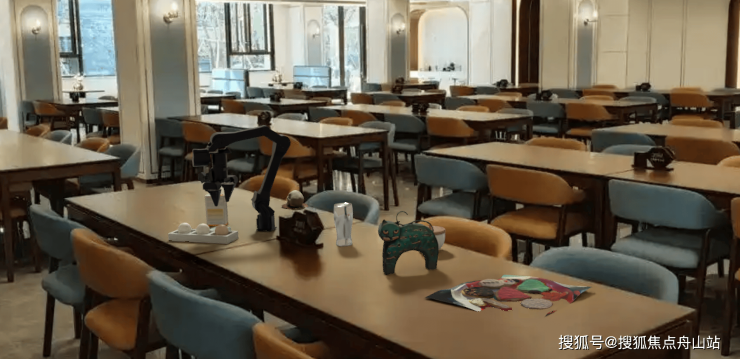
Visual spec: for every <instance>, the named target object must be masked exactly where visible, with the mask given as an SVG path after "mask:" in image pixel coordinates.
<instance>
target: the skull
mask: <svg viewBox="0 0 740 359" xmlns="http://www.w3.org/2000/svg"><path fill="white" fill-rule="evenodd" d="M304 198H305V197H304V196H303V194H302V193H301V191H299V190H296V189H295V190H292V191H290V192H289V193H288V195H287V197H286V203H283V204H282V205H281V207H282V208H283V209H286V208H287V209H286V210H288V209H289V210H296V209H295V208H297V209H300V208H299V207H305V208H308V207H309V205H308V204H307V203H304V201H305V199H304ZM292 208H294V209H292Z"/></svg>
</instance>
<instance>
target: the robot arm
mask: <svg viewBox="0 0 740 359" xmlns="http://www.w3.org/2000/svg"><path fill="white" fill-rule="evenodd" d="M260 137H264V138H266V139H268V140H269V141H272V147H271V157H270V160H269V162H268V166H267V169H266V171H265V174H264V177H263V180H262V183H261V186H260V188H259V190H257V191H256V190H254V191H253V195H252V198H251V199H250V201H251V205H252V208H253V209H254V210H255V211H257V212H256V213H257V215H256V219H255V220H256V221H255V222H256V230H255V232H256V231H257V232H272V231H274V230H276V229H277V228H278V227H277V226H276V221H275V217H276V216H275V212H276V211H275V210H274V209H273V208H272V207H271V206H270V202H271V190H272V189H273V187H274V186H273V185H274V183H275V179H276V176H277V175H278V174H277V173H278V171H279V168H280V165H281V163H282V160H283V158H284V157H285V155H286V154H287V153H288V151H289V148H290V147H291V144H292V142H291V139H290V138H289V137H288V136H287V135H285V134H281V133H280V134H279V133H278V132H276V131H274V130H272V129H271V128H270V127H269V126H267V125H266V124H265V125H264V124H263V125H259V126H257V127H256V126H255V127H250V128H246V129H241V130H237V131H224V132H221V131H217V132H213V133H212V134H211V135H210V138H209V142H208V144H207V145H206V147H205V148H193V149H192V154H191V155H192V156H191V160H192V167H194V168H195V167H208V166H209V164H211V166H212V167H210V169H209V172H207V173H206V172H204V171H202V172H199V173H198V174H197V180H198V181H199V182H200V183H201V184H202V190H204V192H206V193H207V194H210V196H211V198H212V200H213V203H214V205H215V206H216V207H217V206H218V203H219V199H220V194H222V189H223V194H224V195H225V200H226V202H227V203H228V202H230V199H231V197H232V194H233V193H234V190H235V187H236V186H237V183H239V177H238V176H237V175H235V174H234V175H231V174H228V171H229V170H230V166H228V158H227V154H232V151H231V149H229V147H228V146H230V145H232V144H234V143H237V142H241V141H247V140H250V139H255V138H260ZM221 188H222V189H221Z"/></svg>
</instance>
